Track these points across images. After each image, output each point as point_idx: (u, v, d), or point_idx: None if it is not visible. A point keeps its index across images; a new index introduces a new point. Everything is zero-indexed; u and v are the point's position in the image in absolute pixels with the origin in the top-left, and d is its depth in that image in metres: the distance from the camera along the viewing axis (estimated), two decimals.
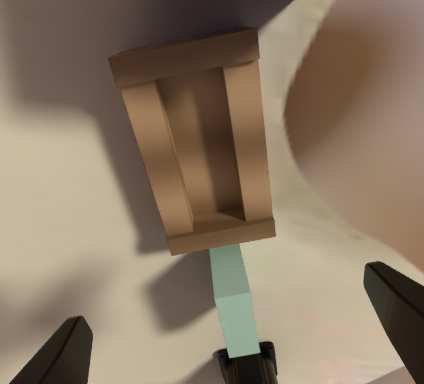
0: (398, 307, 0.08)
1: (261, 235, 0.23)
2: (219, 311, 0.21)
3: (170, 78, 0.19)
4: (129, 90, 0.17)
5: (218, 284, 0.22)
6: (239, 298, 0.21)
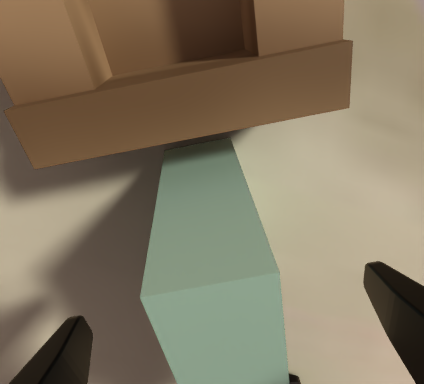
0: (398, 307, 0.08)
1: (305, 103, 0.07)
2: (166, 342, 0.06)
3: None
4: None
5: (165, 249, 0.06)
6: (237, 296, 0.06)
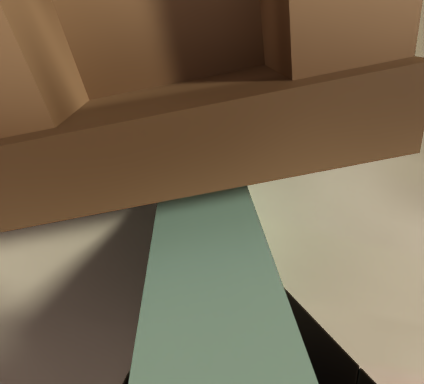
0: None
1: (358, 147, 0.05)
2: None
3: None
4: None
5: None
6: None
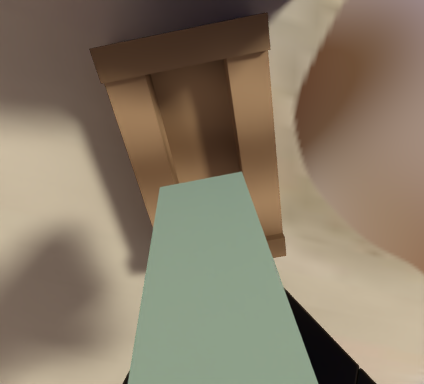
0: None
1: None
2: None
3: (165, 74, 0.16)
4: (116, 87, 0.15)
5: None
6: None
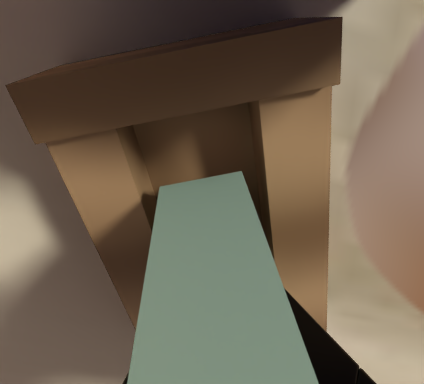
0: None
1: None
2: None
3: None
4: (65, 146, 0.09)
5: None
6: None
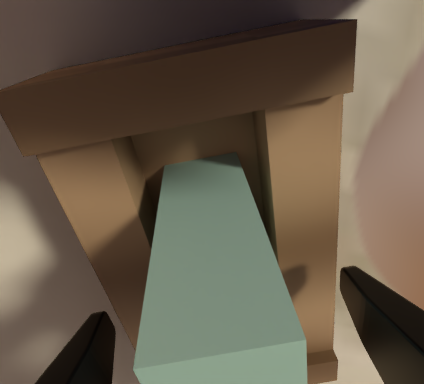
0: (369, 312, 0.08)
1: (312, 380, 0.13)
2: None
3: None
4: (57, 158, 0.08)
5: (165, 298, 0.05)
6: (252, 366, 0.04)
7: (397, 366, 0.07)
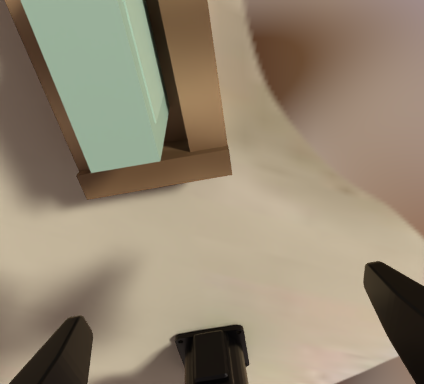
0: (398, 307, 0.08)
1: (211, 172, 0.16)
2: None
3: None
4: None
5: None
6: None
7: None
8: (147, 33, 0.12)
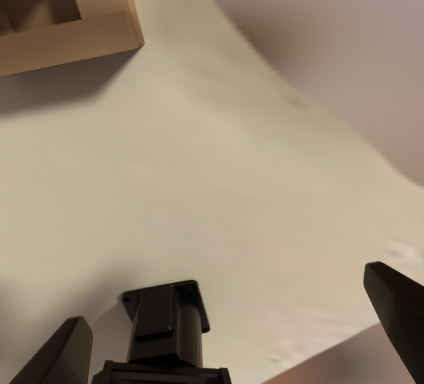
0: (398, 307, 0.08)
1: (109, 45, 0.13)
2: None
3: None
4: None
5: None
6: None
7: None
8: None
